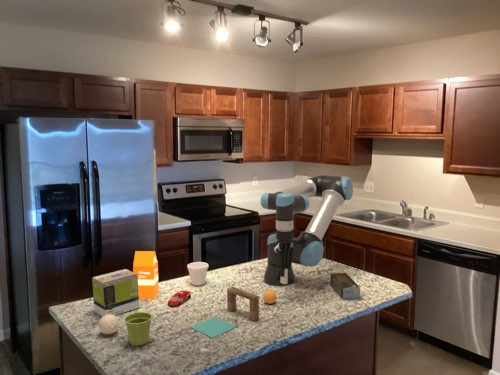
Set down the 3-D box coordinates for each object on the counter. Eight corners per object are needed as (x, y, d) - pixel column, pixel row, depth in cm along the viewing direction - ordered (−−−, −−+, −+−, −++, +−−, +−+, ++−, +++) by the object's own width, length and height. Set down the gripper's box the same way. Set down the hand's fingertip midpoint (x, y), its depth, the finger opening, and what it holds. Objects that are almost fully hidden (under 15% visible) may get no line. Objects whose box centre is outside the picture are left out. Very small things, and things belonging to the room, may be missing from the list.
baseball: (103, 340, 146) (102, 321, 145) (96, 332, 152) (96, 314, 151) (122, 334, 150) (121, 316, 149) (115, 327, 156) (114, 309, 155)
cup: (183, 286, 198) (183, 266, 197) (193, 279, 207) (193, 261, 206) (203, 288, 195) (202, 269, 193) (212, 281, 204) (212, 263, 203)
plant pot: (118, 345, 142) (117, 321, 141) (136, 333, 151) (135, 310, 150) (142, 350, 139) (141, 325, 137) (158, 338, 147) (157, 314, 146)
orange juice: (139, 292, 191) (137, 248, 188) (158, 292, 190) (157, 248, 188) (134, 298, 183) (132, 253, 180) (154, 298, 183) (152, 253, 180)
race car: (176, 309, 173) (176, 299, 172) (165, 307, 175) (165, 297, 174) (193, 297, 185) (193, 288, 184) (182, 295, 187) (182, 287, 186)
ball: (269, 299, 181) (269, 287, 181) (279, 303, 178) (279, 290, 177) (260, 303, 177) (260, 290, 177) (270, 306, 174) (270, 294, 173)
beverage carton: (342, 301, 180) (342, 286, 179) (329, 285, 199) (329, 272, 198) (360, 300, 181) (360, 285, 180) (345, 285, 200) (346, 271, 199)
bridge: (232, 308, 172) (232, 286, 171) (258, 319, 162) (258, 295, 161) (227, 310, 170) (227, 288, 169) (253, 321, 160) (253, 298, 159)
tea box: (127, 301, 180) (126, 267, 178) (139, 308, 173) (138, 273, 171) (93, 311, 169) (91, 276, 168) (104, 319, 162) (103, 282, 160)
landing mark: (215, 317, 164) (215, 316, 164) (236, 326, 156) (236, 326, 156) (190, 327, 155) (190, 326, 155) (212, 338, 147) (212, 337, 147)
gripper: (281, 233, 173) (280, 289, 176) (301, 228, 183) (300, 281, 185) (267, 230, 178) (267, 284, 181) (287, 226, 188) (286, 277, 190)
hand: (283, 283), depth 183 cm, fingers closed
